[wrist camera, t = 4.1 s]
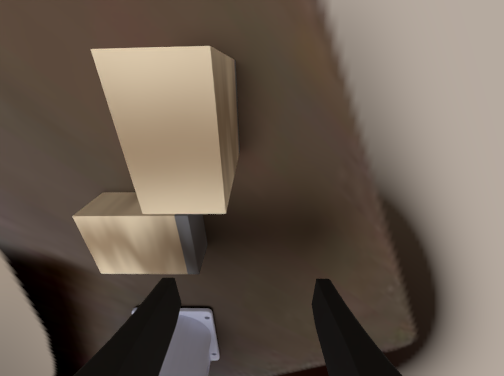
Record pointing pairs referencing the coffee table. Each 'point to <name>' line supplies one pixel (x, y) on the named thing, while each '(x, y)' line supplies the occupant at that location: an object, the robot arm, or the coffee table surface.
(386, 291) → the coffee table surface
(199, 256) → the beech tile
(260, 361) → the coffee table surface
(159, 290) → the robot arm
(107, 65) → the beech tile
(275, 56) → the coffee table surface
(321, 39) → the coffee table surface
